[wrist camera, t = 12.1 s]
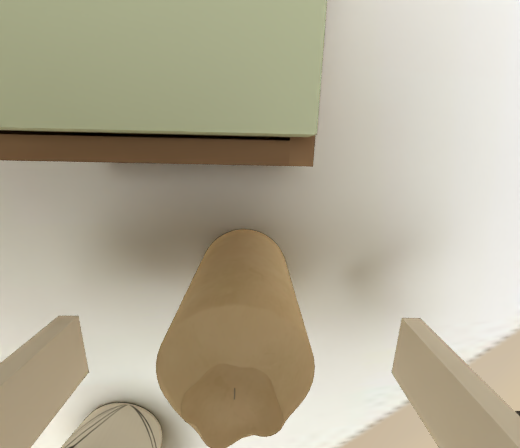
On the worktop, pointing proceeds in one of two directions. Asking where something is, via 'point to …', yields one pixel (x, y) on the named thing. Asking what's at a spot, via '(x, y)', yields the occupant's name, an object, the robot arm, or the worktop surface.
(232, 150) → the box
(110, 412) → the mug
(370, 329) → the worktop surface
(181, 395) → the candle
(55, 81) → the lid
